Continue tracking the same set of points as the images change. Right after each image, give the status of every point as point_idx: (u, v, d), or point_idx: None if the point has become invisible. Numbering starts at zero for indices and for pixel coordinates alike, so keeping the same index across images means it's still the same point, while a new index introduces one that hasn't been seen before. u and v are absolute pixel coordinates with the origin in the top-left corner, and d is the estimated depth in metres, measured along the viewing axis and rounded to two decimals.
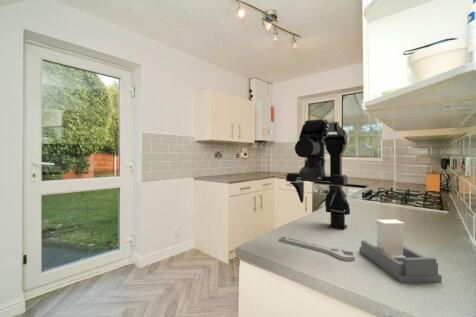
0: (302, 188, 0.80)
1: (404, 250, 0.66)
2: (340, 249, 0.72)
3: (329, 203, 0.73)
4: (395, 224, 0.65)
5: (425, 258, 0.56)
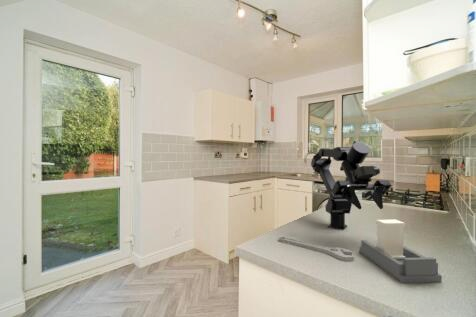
0: None
1: (404, 250, 0.66)
2: (339, 249, 0.72)
3: (381, 204, 0.75)
4: (395, 224, 0.65)
5: (425, 258, 0.56)
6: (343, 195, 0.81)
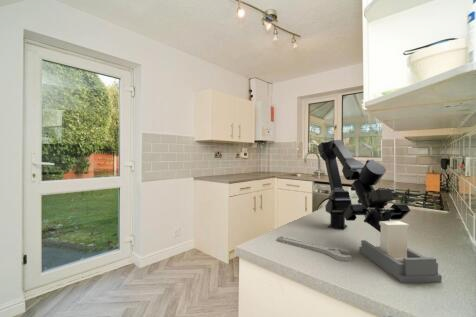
0: None
1: None
2: (337, 249, 0.72)
3: None
4: (399, 226, 0.63)
5: (425, 258, 0.56)
6: (367, 220, 0.73)
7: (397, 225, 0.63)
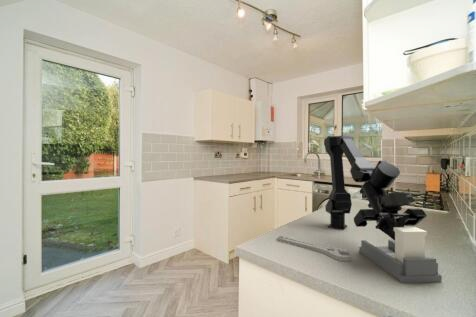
0: None
1: None
2: (336, 249, 0.72)
3: None
4: (416, 233, 0.58)
5: (425, 258, 0.56)
6: (379, 227, 0.67)
7: (414, 232, 0.58)
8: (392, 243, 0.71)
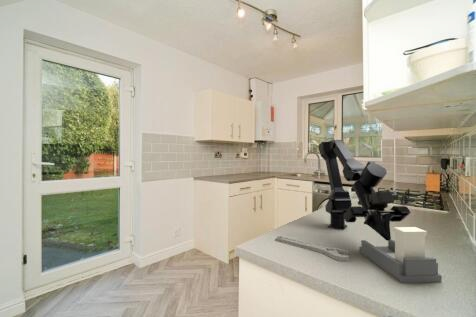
0: None
1: None
2: (335, 249, 0.72)
3: (389, 235, 0.67)
4: (416, 233, 0.58)
5: (425, 258, 0.56)
6: (367, 222, 0.73)
7: (414, 232, 0.58)
8: (392, 243, 0.71)
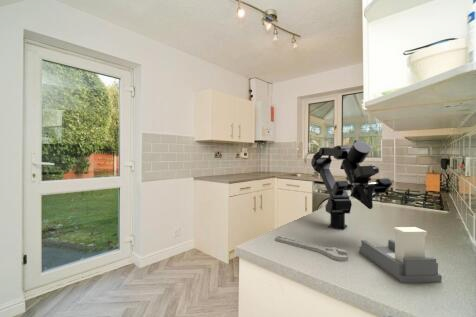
0: None
1: None
2: (334, 249, 0.72)
3: (371, 204, 0.75)
4: (416, 233, 0.58)
5: (425, 258, 0.56)
6: (353, 195, 0.81)
7: (414, 232, 0.58)
8: (392, 243, 0.71)
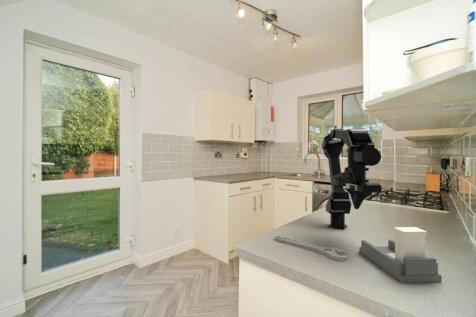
0: None
1: None
2: (333, 249, 0.72)
3: (355, 206, 0.80)
4: (416, 233, 0.58)
5: (425, 258, 0.56)
6: None
7: (414, 232, 0.58)
8: (392, 243, 0.71)
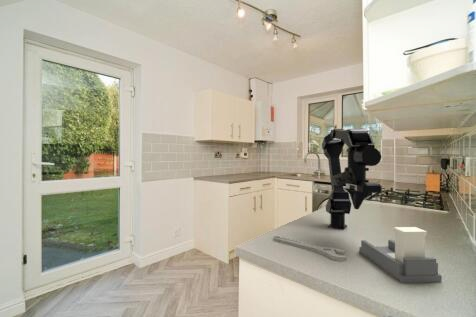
0: None
1: None
2: (332, 249, 0.72)
3: (355, 206, 0.80)
4: (416, 233, 0.58)
5: (425, 258, 0.56)
6: None
7: (414, 232, 0.58)
8: (392, 243, 0.71)
